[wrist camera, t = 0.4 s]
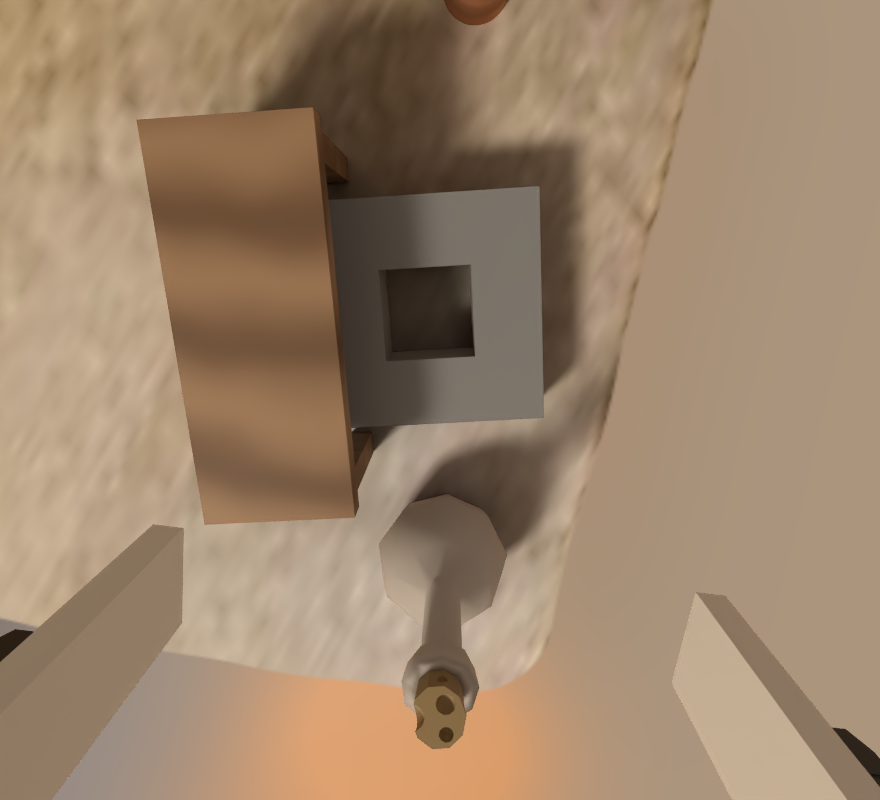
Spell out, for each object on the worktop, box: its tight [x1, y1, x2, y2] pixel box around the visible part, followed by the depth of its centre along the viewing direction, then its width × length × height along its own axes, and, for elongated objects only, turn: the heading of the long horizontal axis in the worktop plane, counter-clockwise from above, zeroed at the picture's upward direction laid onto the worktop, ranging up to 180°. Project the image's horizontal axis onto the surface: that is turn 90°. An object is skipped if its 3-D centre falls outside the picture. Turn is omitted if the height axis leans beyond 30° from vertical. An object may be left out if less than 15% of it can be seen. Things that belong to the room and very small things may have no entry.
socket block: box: [328, 186, 544, 428], centre depth 37 cm, size 14×14×4 cm
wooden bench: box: [137, 107, 373, 525], centre depth 34 cm, size 21×8×10 cm, turn 4°
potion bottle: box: [379, 494, 507, 749], centre depth 34 cm, size 9×9×18 cm
